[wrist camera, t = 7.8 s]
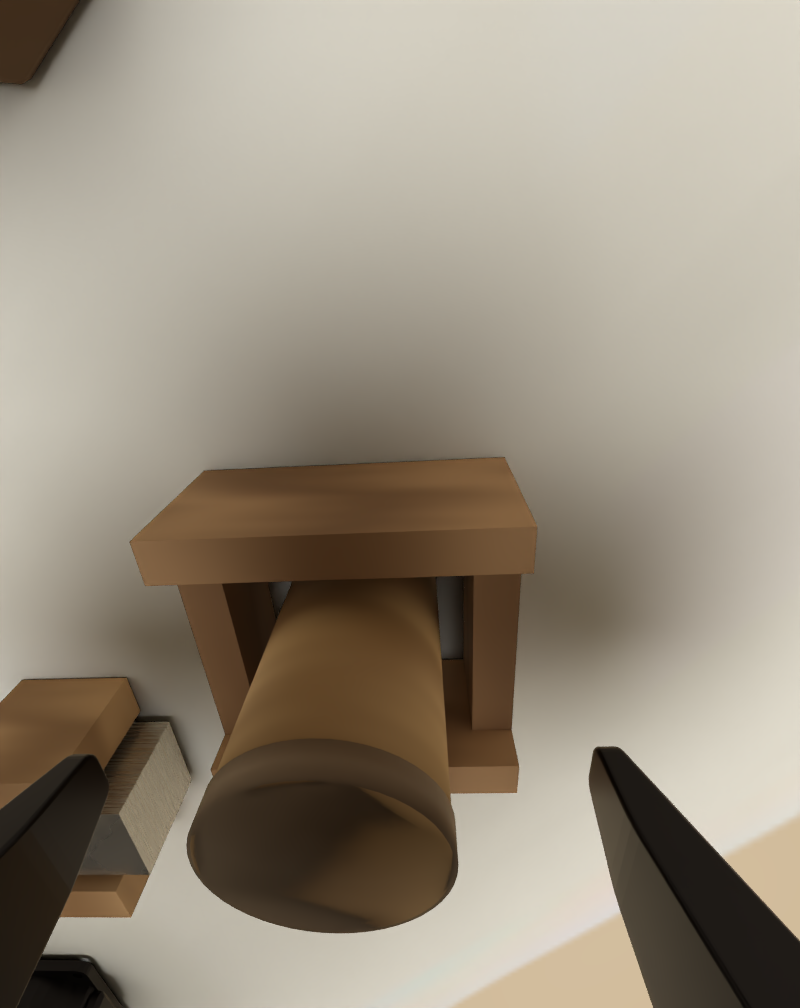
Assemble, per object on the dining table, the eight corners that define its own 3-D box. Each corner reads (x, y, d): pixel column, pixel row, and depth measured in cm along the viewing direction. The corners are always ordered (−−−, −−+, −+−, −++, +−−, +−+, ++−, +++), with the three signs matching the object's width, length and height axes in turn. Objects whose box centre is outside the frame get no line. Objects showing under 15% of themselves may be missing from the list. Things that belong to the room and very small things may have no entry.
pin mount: (91, 806, 18) (24, 916, 15) (21, 680, 15) (-79, 784, 12) (180, 805, 18) (131, 917, 15) (126, 677, 15) (51, 783, 12)
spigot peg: (305, 645, 15) (221, 932, 8) (282, 528, 13) (152, 779, 6) (440, 642, 14) (459, 933, 8) (436, 522, 13) (456, 776, 6)
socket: (259, 687, 15) (219, 795, 12) (203, 471, 12) (129, 541, 9) (495, 682, 15) (516, 792, 12) (504, 457, 12) (537, 527, 8)
